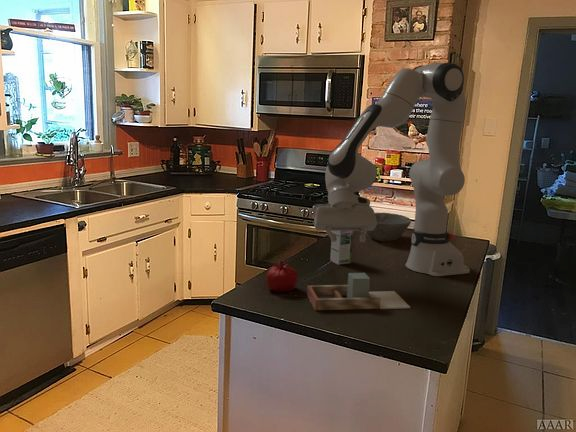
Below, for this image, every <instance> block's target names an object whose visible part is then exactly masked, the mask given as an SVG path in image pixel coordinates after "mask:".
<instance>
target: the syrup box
mask: <svg viewBox="0 0 576 432" xmlns="http://www.w3.org/2000/svg"><path fill="white" fill-rule="evenodd" d="M331 232H332V233H333V234H334V235H336V238H337V240H336V242H331V241H330V243H331V244H330V262H332V263H334V264H335V265H338V266H340V265H347V264H352V255H353V254H352V253H353V251H352V249H353V237H354V231H331Z"/></svg>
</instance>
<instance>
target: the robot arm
mask: <svg viewBox="0 0 576 432" xmlns="http://www.w3.org/2000/svg"><path fill="white" fill-rule="evenodd" d="M464 84H465V77H464V72H463V69H462V67H461V66H459V65H458V64H456V63H453V62H434V63H433V62H432V63H429V64H425V65H423V64H422V65H418V66H416V67H414V68H402V69H400V70H398V71H397V73H395V75H394V76H393V77H392V79H391V81H390V82H388V85H387V86H386V87H385V89H384V90H383V92H382V95H381V96H380V98H379V99H378V100H377V102H375V103H373V104H370V105H368V106H367V107H366V108H365V109H364V111H362V113H360V115H359V117H358V118H357V120H356V121H355V122H354V123H353V125H352V127H351V128H350V129H349V130H348V132H347V133H346V135H345V136H344V137H343V139H342V140H341V142H339V144H338V145H336V147H334V149H333V150H332V151H331V152H330V154H329V156H328V159H327V166H326V167H325V172H324V173H325V175H324V177H325V178H324V180H325V186H326V187H325V188H326V191H327V193H328V194H327V201H328V203H316V204H314V205H313V206H312V208H311V210H312V215H313V216H314V217H313V218H314V219H313V224H314V229H315V230H316V231H321V232H322V231H325V232H326V234H327V235H328V237H329V238H330V243H331V242H336V240H337V238H336V235H334V234H333V233H332V231H353V232H359V231H360V232H361V234H360V235H359V237H358V239H359V242H360V243H365V242H366V240H367V237H366V234H367V231H373V230H374V229H375V227H376V226H377V219H376V216H375V213H376V212H375V210H374V208H373V207H372V206H371V200H370V199H369V198H367V197H362V196H360V195H357V194H355V193H359V192H361V191H363V190H366V189H368V188H370V187H371V186H372V185H374V183H375V182H376V180H377V177H378V168H377V166H376V164H374V163H373V162H371V161H370V160H369V159H367V158H366V157H364V156H362V155H361V154H360V153H359V149H360V147H361V146H362V144H363V143H364V142H365V140H366V139H367V137H368V136H369V135H370V133H371V132H372V130H374V129H375V128H378V127H384V128H389V129H390V128H391V129H392V128H398V127H400V126H402V125H404V124H405V123H406V122H407V121H408V119H409V118H410V116H411V114H412V112H413V111H414V108H415V107H416V104H417V102H418V100H419V99H420V98H426V99H431V103H432V109H431V112H430V113H431V114H430V117H429V123H428V129H427V134H426V139H425V143H426V146H427V149H428V153H429V155H428V156H429V159H421V160H417V161H415V162H414V163H413V164H412V165H411V167H410V169H409V174H408V175H409V180H410V181H411V183H412V187H413V188H412V189H413V192H414V193H413V194H414V202H415V203H414V204H415V215H414V216H415V217H414V224H413V225H414V227H413V228H412V232H411V241H410V243H411V246H410V250H409V255H408V258H407V260H406V263H405V267H406V268H407V269H409V270H412V271H413V272H418V273H421V274H427V275H430V276H434V277H445V276H453V275H464V274H470V273H471V270H470V268H469V267H468V266H467V265H466V264H465V261H464V254H463V253H462V252H461V251H460V250H459V249H458V248H457V247H455V246H454V244H452V242H450V240H451V241H454V240H455V239H456V238H457V237H456V235H455V234H453V233H449V232H448V231H447V226H448V224H447V223H448V217H449V216H448V215H449V211H448V207H447V205H446V203H445V199H444V197H445V196H446V197H448V196H454V195H457V194H459V193H460V192H461V191H462V190H463V188H464V187H465V186H464V185H465V183H466V182H465V181H466V180H465V179H466V177H465V174H464V172H463V171H462V168H461V162H460V142H461V138H462V137H461V136H462V132H463V131H462V130H463V126H464V121H465V116H466V115H465V113H466V95H465V93H464V92H463V89H464Z"/></svg>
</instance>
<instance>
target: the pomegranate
mask: <svg viewBox="0 0 576 432" xmlns="http://www.w3.org/2000/svg"><path fill="white" fill-rule="evenodd" d="M283 262H284V260H279V263H278V264H279V266H278V265H277V264H271V266H272V267H270V268H269V269H268V270H267V272H266V274H265V281H266V285H267V288H268V289H269V290H270V291H271V292H275V293H287V292H288V293H289V292H291V291H293V290H294V289H295V288H296V286H297V284H298V282H299V273H298V272H297V270H296V269H295V268H294V267H293V266H291V265H290V263H286V264H285V265H283V264H284V263H283ZM288 265H290V266H288Z"/></svg>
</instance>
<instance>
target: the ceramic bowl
mask: <svg viewBox="0 0 576 432" xmlns="http://www.w3.org/2000/svg"><path fill="white" fill-rule="evenodd" d="M374 213H375V216H376V219H377V226H376V227H375V229H374V230H373V231H367V232H366V234H367V235H368V236H369V237H370V238H371V239H373V240H376V241H379V242H382V243H387V242H393V241H396V240H398V239H400V237H401V236H402V235H403V234H404V233H405V231H407V230H408V228H409V227H410V225H411V223H412V219H411V218H409V217H408V216H406V215H403V214H402V215H401V214H398V213H391V212H374Z"/></svg>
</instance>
